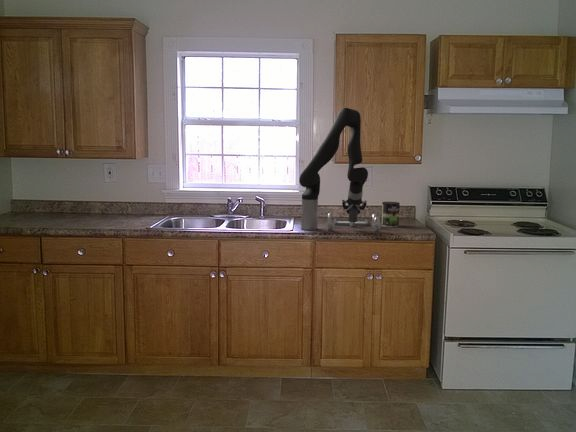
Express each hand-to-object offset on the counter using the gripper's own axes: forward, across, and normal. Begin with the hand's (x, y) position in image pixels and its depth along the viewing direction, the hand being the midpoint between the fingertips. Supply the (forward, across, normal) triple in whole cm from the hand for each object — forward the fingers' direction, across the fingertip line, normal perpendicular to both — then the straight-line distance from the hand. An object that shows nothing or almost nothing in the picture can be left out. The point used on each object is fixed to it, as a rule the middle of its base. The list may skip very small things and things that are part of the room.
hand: (353, 212), depth 312 cm
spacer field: (+9, 0, +5) cm, 10 cm away
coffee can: (+18, -23, -4) cm, 30 cm away
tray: (+23, 0, -8) cm, 24 cm away
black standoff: (+2, 0, +5) cm, 5 cm away
